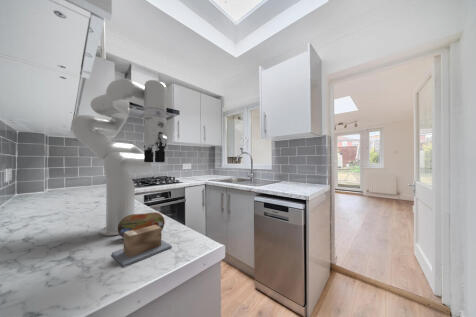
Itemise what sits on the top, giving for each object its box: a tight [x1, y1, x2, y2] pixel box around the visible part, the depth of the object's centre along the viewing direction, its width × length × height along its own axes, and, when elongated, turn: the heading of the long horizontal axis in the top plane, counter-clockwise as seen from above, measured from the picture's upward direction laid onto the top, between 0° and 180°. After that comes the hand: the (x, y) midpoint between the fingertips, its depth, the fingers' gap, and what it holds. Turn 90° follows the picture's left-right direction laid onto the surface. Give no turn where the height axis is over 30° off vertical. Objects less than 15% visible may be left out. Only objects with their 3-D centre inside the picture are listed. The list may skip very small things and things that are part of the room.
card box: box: [122, 225, 162, 257], centre depth 51 cm, size 9×4×6 cm, turn 139°
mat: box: [111, 239, 172, 268], centre depth 51 cm, size 10×13×1 cm
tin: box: [118, 211, 166, 239], centre depth 62 cm, size 15×3×8 cm, turn 105°
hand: (153, 162), depth 62 cm, fingers open, 9 cm apart
